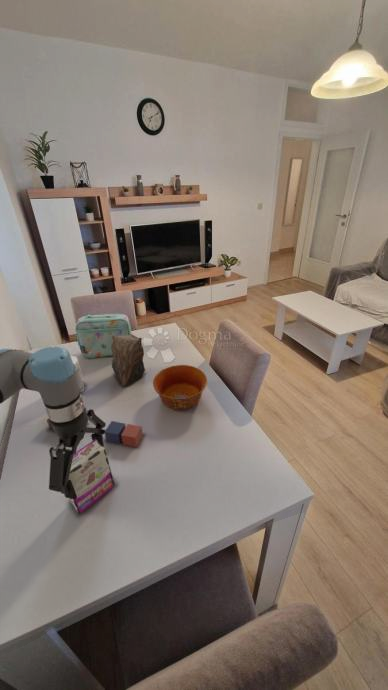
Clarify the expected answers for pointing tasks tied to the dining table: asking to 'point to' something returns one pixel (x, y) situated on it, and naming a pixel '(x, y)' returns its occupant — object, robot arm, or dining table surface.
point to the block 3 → (132, 435)
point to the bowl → (180, 385)
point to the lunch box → (100, 333)
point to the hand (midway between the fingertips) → (87, 472)
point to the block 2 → (114, 432)
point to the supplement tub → (78, 372)
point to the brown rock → (127, 358)
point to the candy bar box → (90, 475)
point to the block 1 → (49, 424)
